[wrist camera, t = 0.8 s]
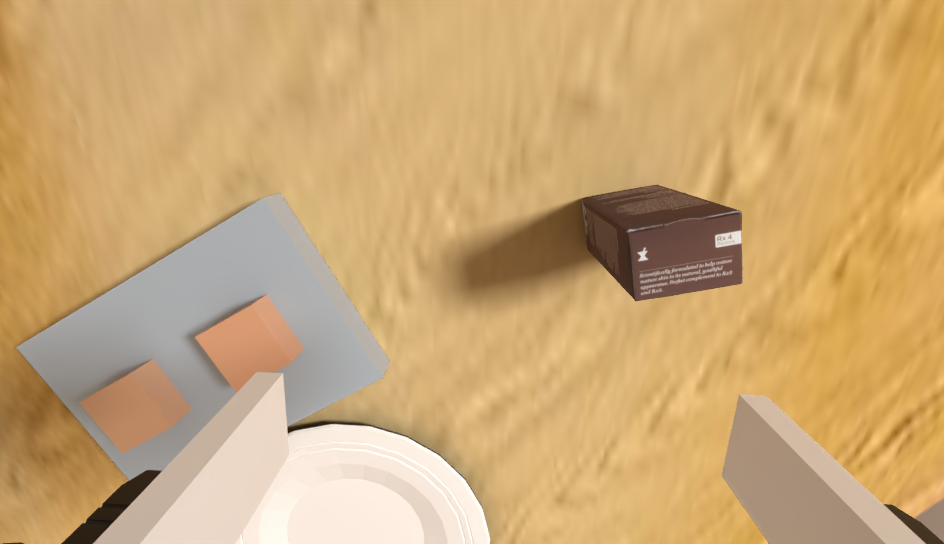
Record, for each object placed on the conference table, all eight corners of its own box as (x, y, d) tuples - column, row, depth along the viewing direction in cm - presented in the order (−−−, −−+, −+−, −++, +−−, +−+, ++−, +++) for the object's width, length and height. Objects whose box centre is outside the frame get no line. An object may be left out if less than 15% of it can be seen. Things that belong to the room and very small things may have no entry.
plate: (338, 668, 50) (332, 688, 48) (170, 499, 45) (157, 514, 43) (541, 561, 46) (543, 579, 44) (381, 362, 41) (376, 372, 39)
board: (49, 332, 41) (15, 347, 38) (280, 193, 37) (263, 197, 34) (167, 475, 44) (145, 499, 41) (389, 361, 41) (382, 378, 38)
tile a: (213, 324, 37) (194, 337, 35) (266, 294, 36) (251, 305, 34) (252, 376, 38) (236, 392, 36) (304, 348, 37) (291, 362, 35)
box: (587, 254, 38) (632, 304, 26) (580, 197, 37) (624, 223, 25) (665, 241, 37) (747, 286, 26) (661, 183, 36) (743, 202, 25)
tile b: (104, 386, 39) (79, 402, 36) (153, 358, 38) (130, 373, 35) (144, 434, 40) (122, 453, 37) (192, 409, 39) (172, 426, 36)
